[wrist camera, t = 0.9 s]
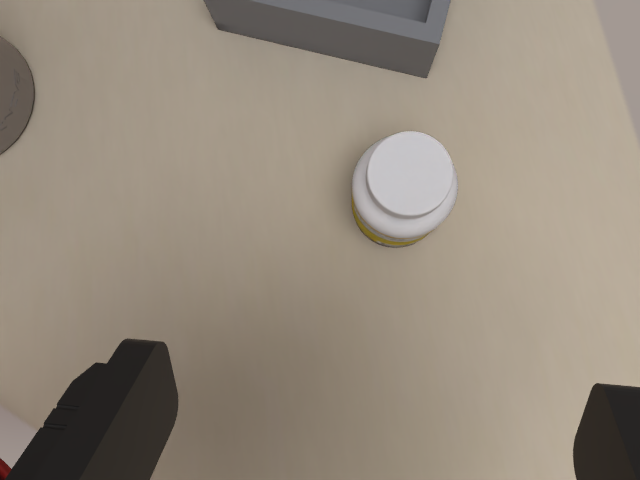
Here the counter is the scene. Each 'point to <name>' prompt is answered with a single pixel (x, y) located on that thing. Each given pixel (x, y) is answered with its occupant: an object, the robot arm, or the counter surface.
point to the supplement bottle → (403, 188)
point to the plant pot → (4, 470)
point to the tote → (344, 28)
